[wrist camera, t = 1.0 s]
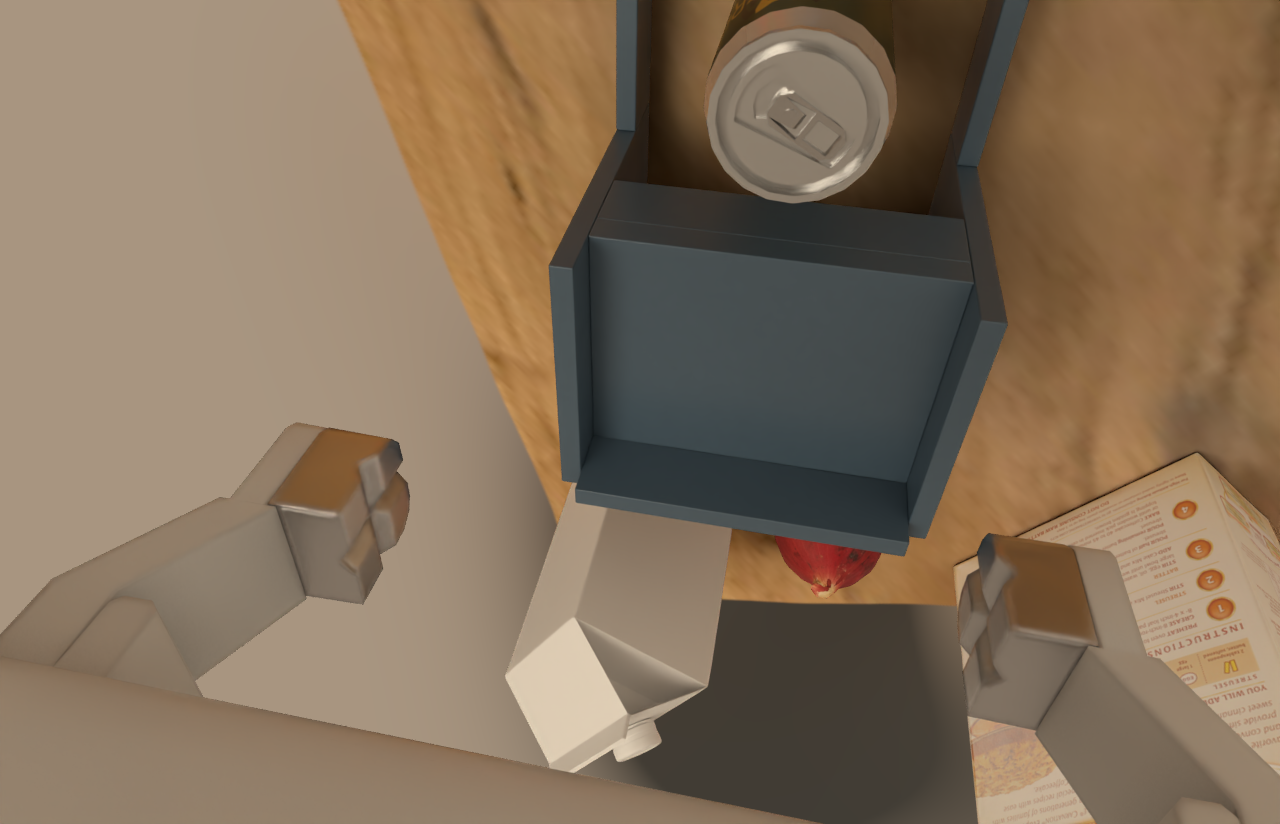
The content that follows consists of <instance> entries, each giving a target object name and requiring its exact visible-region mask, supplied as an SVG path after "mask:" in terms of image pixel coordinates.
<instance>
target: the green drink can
mask: <svg viewBox="0 0 1280 824" xmlns="http://www.w3.org/2000/svg"><path fill="white" fill-rule="evenodd" d="M896 109H897V94H896V75H895V57H894V39H893V21H892V3H891V0H735V2H734V5H733V7H732V10H731V13H730V16H729V19H728V21H727V24H726V27H725V30H724V33H723V35H722V38H721V41H720V44H719V46H718V49H717V52H716V55H715V58H714V60H713V63H712V66H711V69H710V72H709V74H708V77H707V83H706V91H705V99H704V113H705V118H706V123H707V128H708V133H709V137H710V142H711V147H712V149H713V151H714V153H715V155H716V156H717V158H718V160H719V162H720V163H721V165H722V167H723V169H724V170H725V171H726V172H727V173H728V174H729V175H730V176H731V177H732V178H733V179H734V180H735V181H736V182H737V183H739V184H740V185H741V186H742V187H743V188H744V189H747V190H749V191H751V192H753V193H755V194H757V195H759V196H761V197H763V198H765V199H769V200H775V201H781V202H787V203H800V202H809V201H817V200H821V199H824V198H826V197H828V196H831V195H833V194H835V193H838V192H840V191H842V190H845V189H846V188H847V187H848V186H850V185H851V184H852V183H853V182H854V181H856V180H857V179H858V178H859V177H861V176H862V175H863V174H864V173H865V172H866V171H867V170H868V168H869V167H870V165H871V164H872V162H873V161H874V159H875V158H876V156H877V155H878V153H879V152H880V150H881V149H882V145H883V144H884V142H885V141H886V139H887V138H888V136H889V134H890V130H891V127H892V123H893V119H894V116H895V112H896Z"/></svg>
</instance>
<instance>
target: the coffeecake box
mask: <svg viewBox="0 0 1280 824" xmlns="http://www.w3.org/2000/svg"><path fill="white" fill-rule="evenodd" d="M1018 538H1025V539H1031V540H1038V541H1045V542H1051V543H1058V544H1064V545H1066V546H1068V545H1072V546H1079V547H1086V548H1093V549H1100V550H1106V551H1110V552H1111V553H1112V554H1113V555H1114V556H1115V557H1116V559H1117V562H1118V565H1119V568H1120V572H1121V575H1122V578H1123V581H1124V584H1125V587H1126V590H1127V594H1128V597H1129V600H1130V603H1131V606H1132V609H1133V612H1134V616H1135V619H1136V622H1137V625H1138V628H1139V631H1140V634H1141V637H1142V641H1143V644H1144V647H1145V650H1146V653H1147V656H1149V657H1155V658H1160V659H1161V660H1162V661H1163V662H1164V663H1165V664H1166V665H1167V666H1168V667H1169V668H1170V669H1171V670H1172V671H1173V672H1174V673H1175V674H1176V675H1177V676H1178V677H1179V678H1180V679H1181V680H1182V681H1183V682H1185V683H1186V684H1187V685H1188V686H1189V687H1190V688H1191V689H1192V690H1193V691H1194V692H1195V693H1196V694H1197V695H1198V696H1199V697H1200V698H1201V699H1202V700H1203V701H1204V702H1205V703H1206V704H1207V705H1208V706H1209V707H1210V708H1211V709H1212V710H1213V711H1214V712H1215V713H1216V714H1217V715H1218V716H1219V717H1220V718H1221V719H1222V720H1223V721H1224V722H1226V723H1227V724H1228V725H1229V726H1230V727H1231V728H1232V729H1233V730H1234V731H1235V732H1236V733H1237V734H1238V735H1239V736H1240V737H1241V738H1242V739H1243V740H1244V741H1245V742H1246V743H1247V744H1248V745H1249V746H1250V747H1251V748H1252V749H1253V750H1254V751H1255V752H1256V753H1257V754H1258V755H1259V756H1260V757H1261V758H1262V759H1263V760H1264V761H1266V762H1267V763H1268V764H1269V765H1270V766H1271V767H1272V768H1273V769H1274V770H1275V771H1276V772H1277V773H1278V774H1279V775H1280V544H1279V542H1278V540H1277V537H1276V535H1275V533H1274V531H1273V529H1272V527H1271V525H1270V523H1269V521H1268V519H1267V518H1266V517H1265V516H1264V515H1262V514H1261V513H1260V512H1259V511H1258V510H1257V509H1256V508H1255V507H1254V506H1253V505H1252V504H1251V503H1250V502H1248V501H1247V500H1246V499H1245V498H1244V497H1243V496H1242V495H1241V494H1240V493H1239V492H1238V491H1237V490H1236V489H1235V488H1234V487H1233V486H1232V485H1231V484H1230V483H1229V482H1228V481H1227V480H1226V479H1225V478H1224V477H1223V476H1222V475H1221V474H1220V473H1219V472H1218V471H1217V470H1216V469H1215V468H1213V467H1212V466H1211V465H1210V464H1209V463H1208V462H1207V461H1206V460H1205V459H1204V458H1203V457H1202V456H1201V455H1200V454H1199V453H1195V454H1192V455H1190V456H1188V457H1186V458H1184V459H1182V460H1180V461H1178V462H1176V463H1174V464H1172V465H1170V466H1167V467H1165V468H1163V469H1161V470H1159V471H1157V472H1155V473H1153V474H1150V475H1148V476H1146V477H1144V478H1142V479H1140V480H1137V481H1135V482H1133V483H1131V484H1129V485H1127V486H1125V487H1122V488H1120V489H1118V490H1116V491H1114V492H1112V493H1110V494H1108V495H1106V496H1103V497H1101V498H1099V499H1097V500H1095V501H1093V502H1090V503H1088V504H1086V505H1084V506H1082V507H1080V508H1078V509H1076V510H1073V511H1071V512H1069V513H1067V514H1065V515H1063V516H1061V517H1059V518H1057V519H1055V520H1052V521H1050V522H1048V523H1046V524H1044V525H1041V526H1039V527H1037V528H1035V529H1033V530H1031V531H1029V532H1026V533H1024V534H1022V535H1020V536H1018ZM953 569H954V579H955V592H956V601H957V610H958V607H959V601H960V595H961V591H962V588H963V585H964V583H965V580H966V577H967V575H968V574H970V573H972V572H974V571H975V570H977V569H979V564H978V556H975V557H973V558H971V559H969V560H967V561H965V562H962V563H960V564H958V565H956V566H954V567H953ZM961 652H962V661H963V669H964V667H965V665H966V663H967V660H968V658H969V654H968V653H967V652H966V651H965V650H964V648H963V647H962V646H961ZM968 725H969V735H970V745H971V755H972V765H973V774H974V785H975V795H976V805H977V816H978V824H1097V823H1096V822H1095V821H1094V819H1093V818H1092V816H1091V815H1090V813H1089V812H1088V810H1087V809H1086V807H1085V806H1084V805H1083V803H1082V802H1081V800H1080V799H1079V797H1078V796H1077V794H1076V793H1075V792H1074V790H1073V789H1072V787H1071V786H1070V784H1069V783H1068V781H1067V780H1066V778H1065V777H1064V776H1063V774H1062V773H1061V771H1060V770H1059V768H1058V767H1057V765H1056V764H1055V762H1054V761H1053V760H1052V758H1051V757H1050V755H1049V754H1048V752H1047V751H1046V749H1045V748H1044V746H1043V745H1042V744H1041V742H1040V741H1039V739H1038V738H1037V736H1036V735H1035V732H1036V730H1031V729H1026V728H1021V727H1017V726H1012V725H1007V724H1002V723H998V722H993V721H988V720H983V719H979V718H974V717H969V716H968Z"/></svg>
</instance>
